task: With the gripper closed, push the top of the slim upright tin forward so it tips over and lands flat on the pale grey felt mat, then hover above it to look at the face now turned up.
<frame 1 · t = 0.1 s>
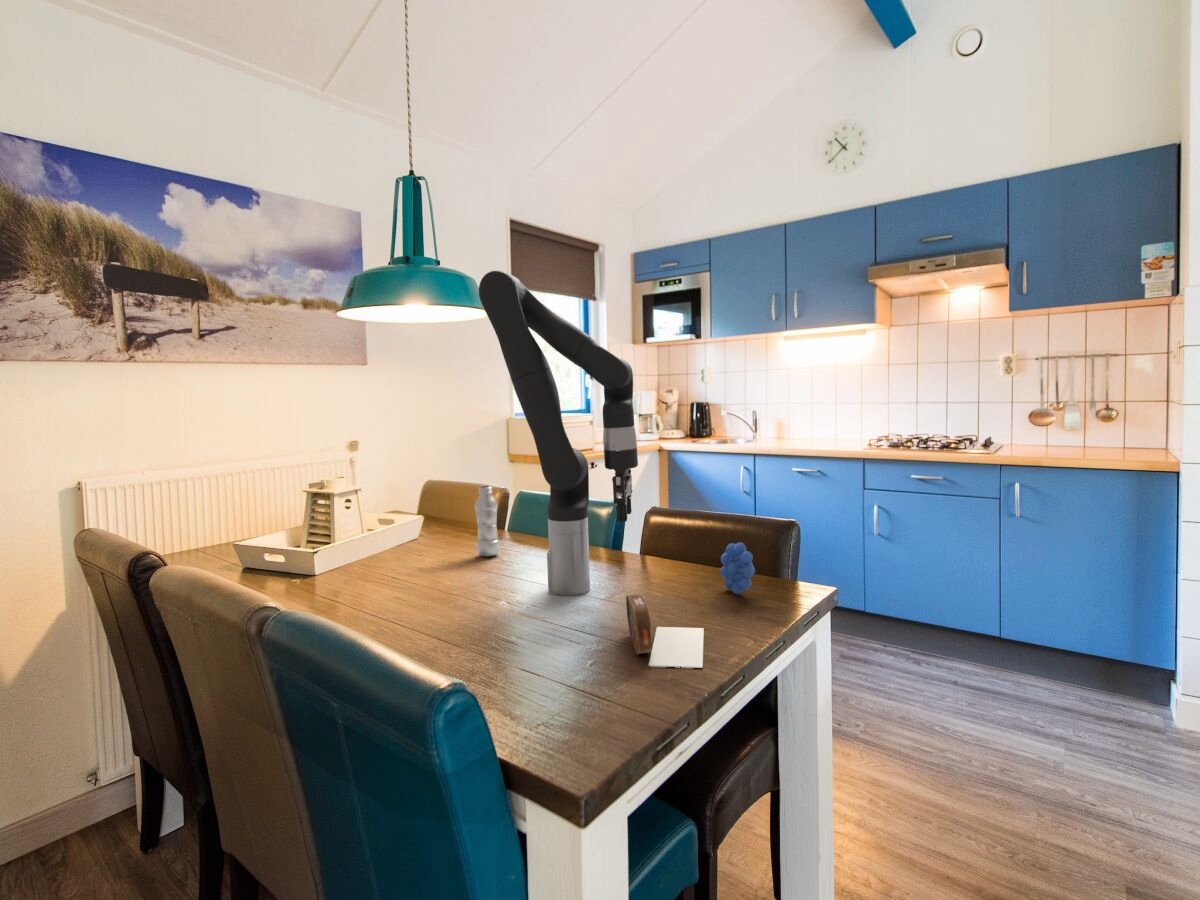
hand: (624, 517, 154), 17 cm above the table, tool pointing down, fingers open, 8 cm apart
grapes: (740, 594, 151), on the table
mat: (678, 647, 122), on the table
tin: (642, 645, 123), on the table, touching mat
plastic bottle: (488, 556, 192), on the table
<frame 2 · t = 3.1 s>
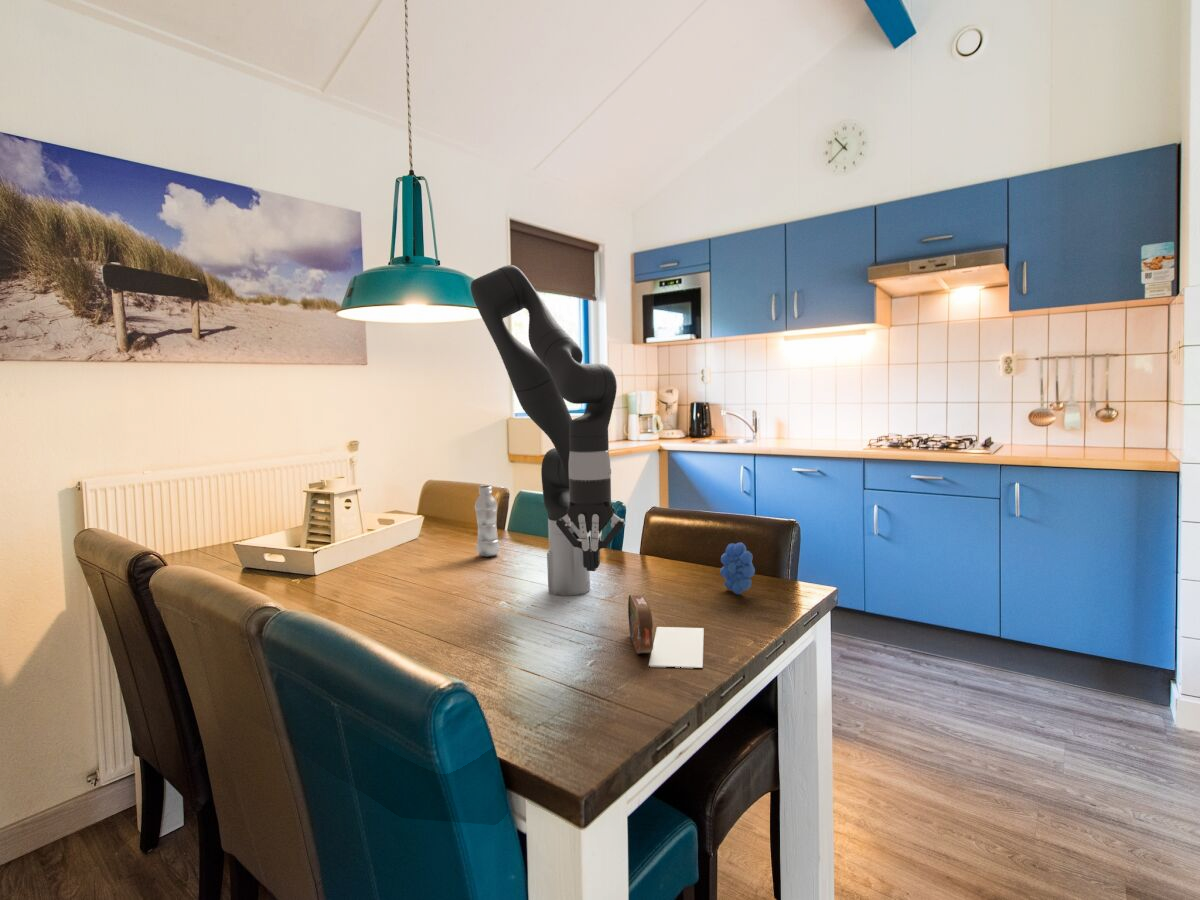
hand: (591, 569, 123), 14 cm above the table, tool pointing down, fingers closed
nothing on the table moved.
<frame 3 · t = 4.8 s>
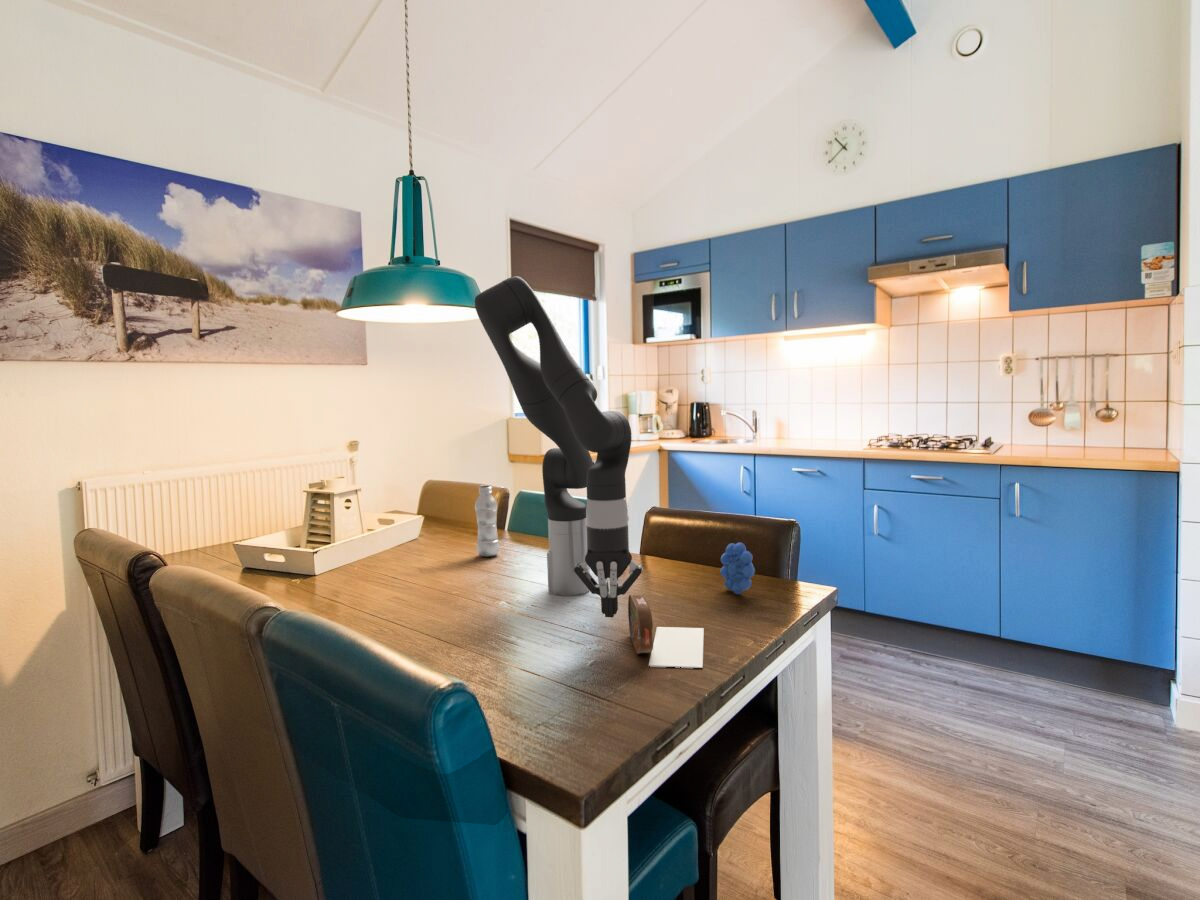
hand: (610, 615, 123), 6 cm above the table, tool pointing down, fingers closed
nothing on the table moved.
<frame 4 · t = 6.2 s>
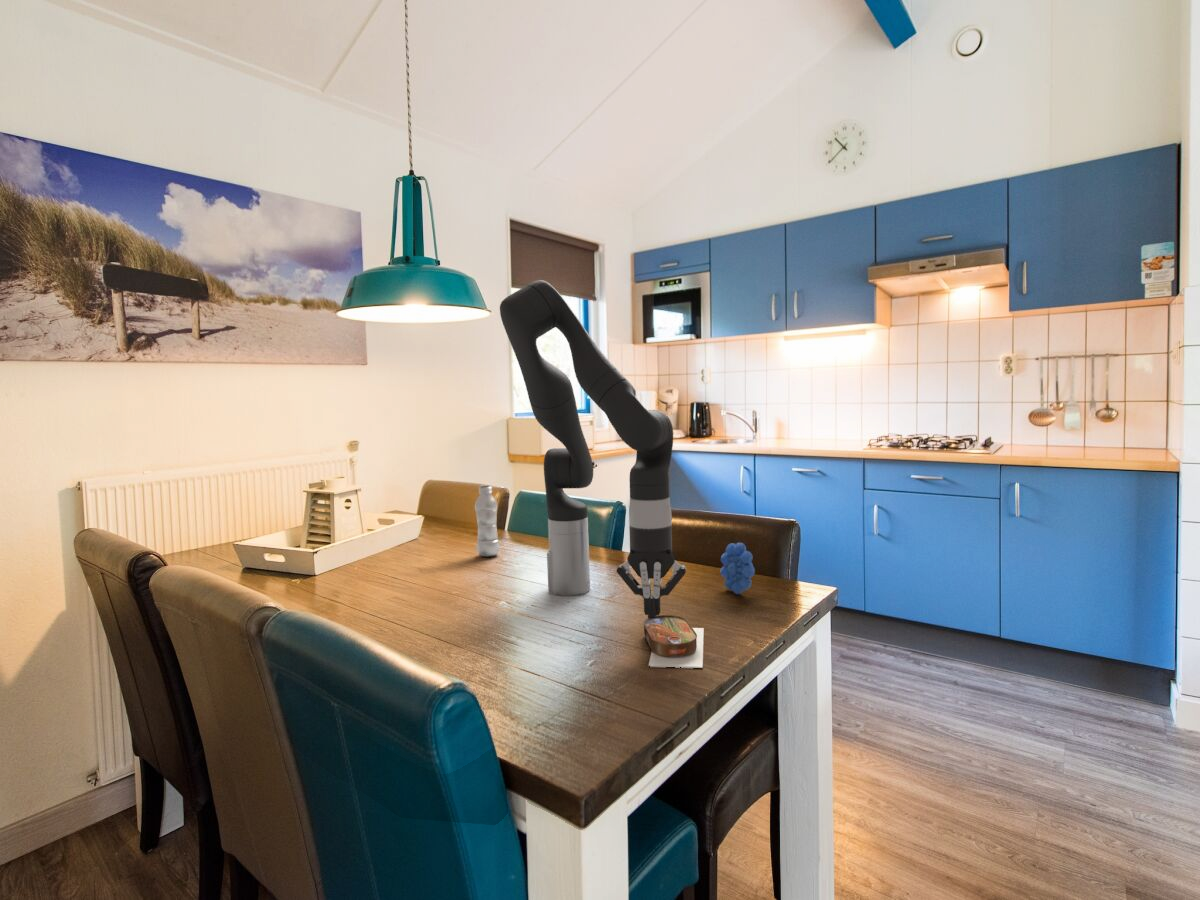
hand: (652, 616, 122), 6 cm above the table, tool pointing down, fingers closed
tin: (646, 638, 123), point 1 cm above the table, touching mat
everything else where it was.
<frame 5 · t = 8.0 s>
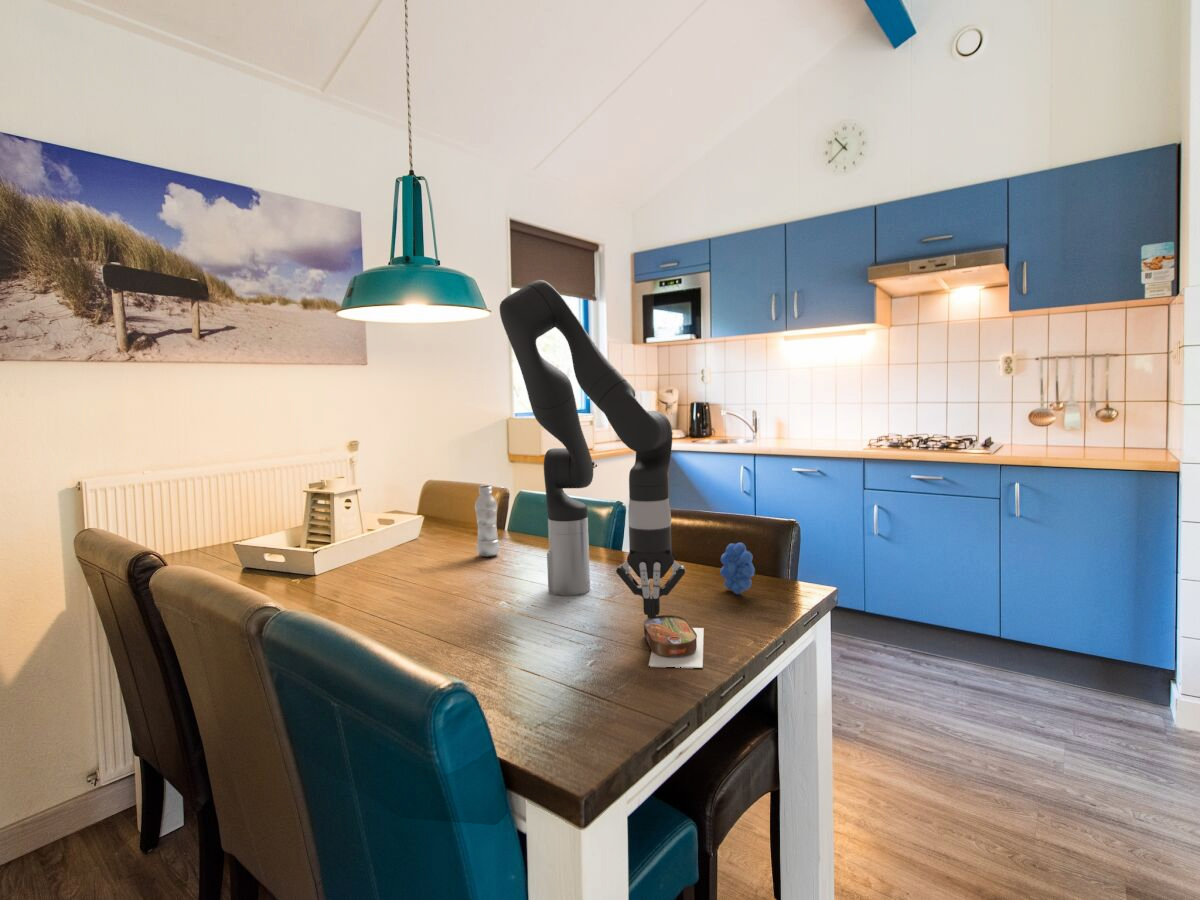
hand: (652, 616, 123), 5 cm above the table, tool pointing down, fingers closed
nothing on the table moved.
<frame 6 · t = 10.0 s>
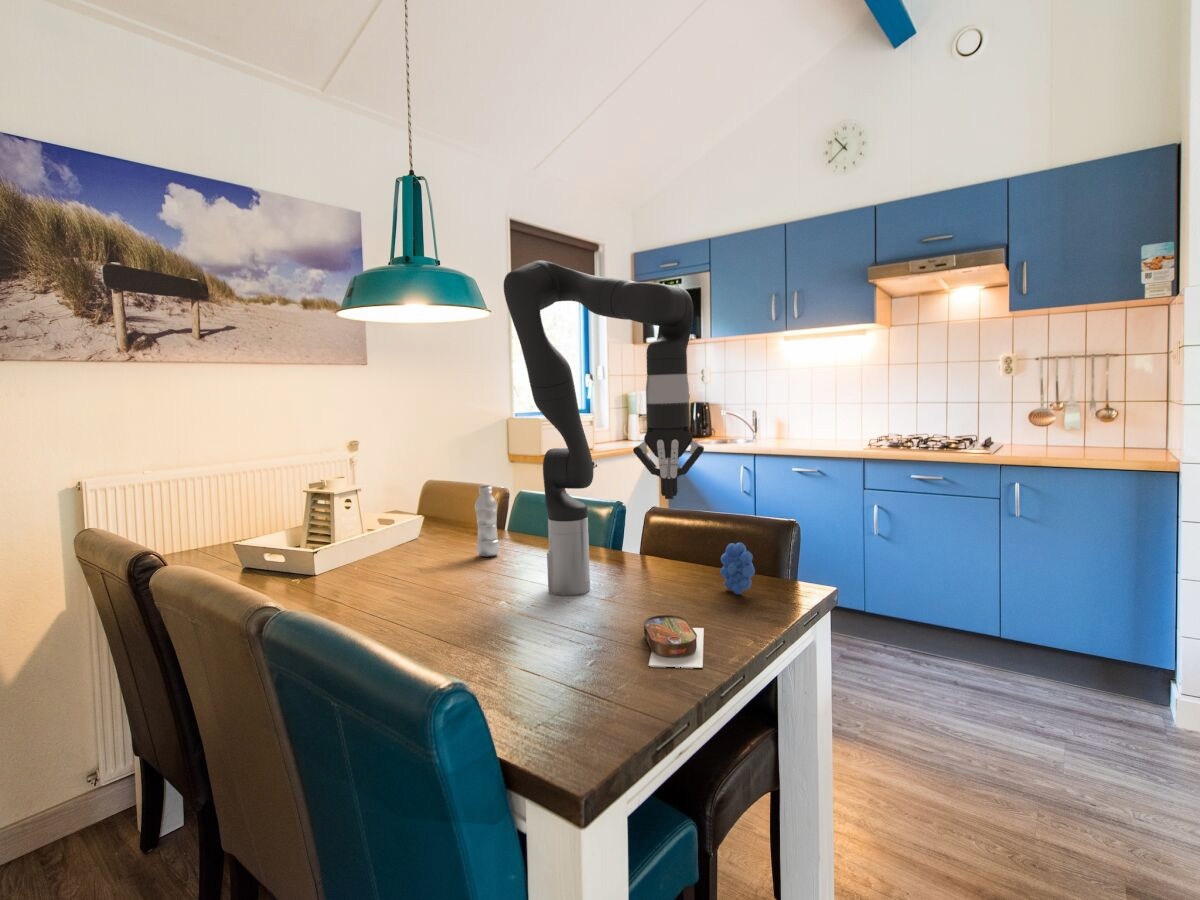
hand: (669, 498, 120), 27 cm above the table, tool pointing down, fingers closed
nothing on the table moved.
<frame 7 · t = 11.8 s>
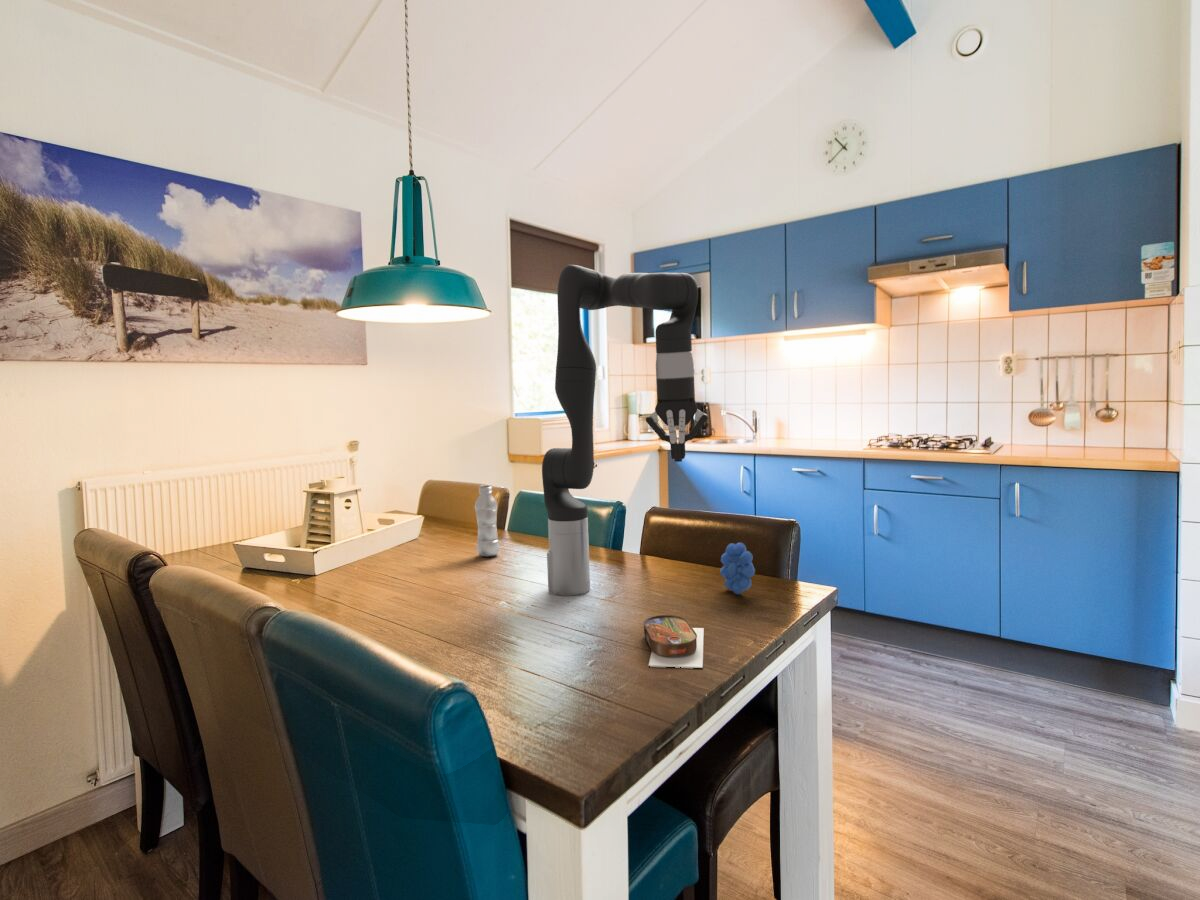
hand: (678, 461, 137), 32 cm above the table, tool pointing down, fingers closed
nothing on the table moved.
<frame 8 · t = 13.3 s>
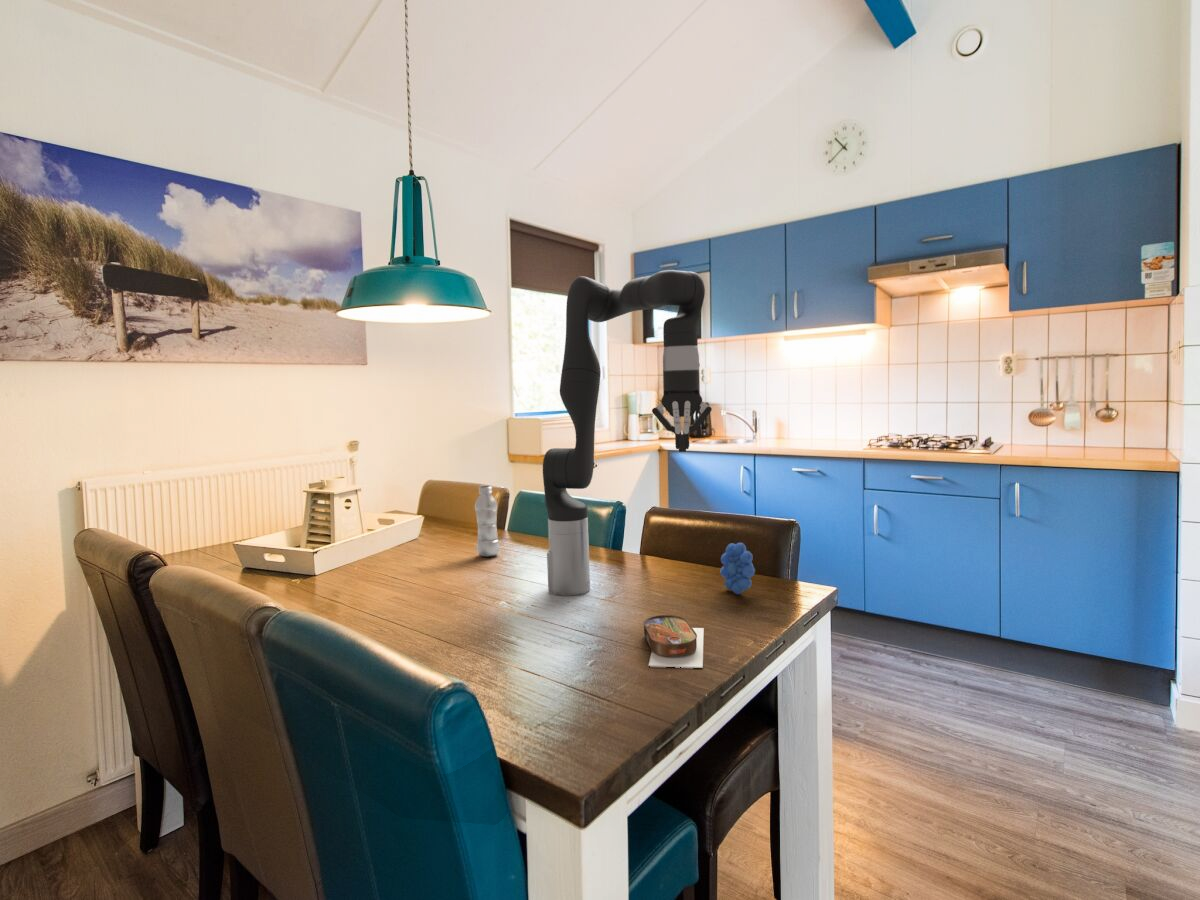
hand: (682, 451, 142), 33 cm above the table, tool pointing down, fingers closed
nothing on the table moved.
at the end: tin tilted 86°; tin 5.8 cm from the mat (horizontally) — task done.
